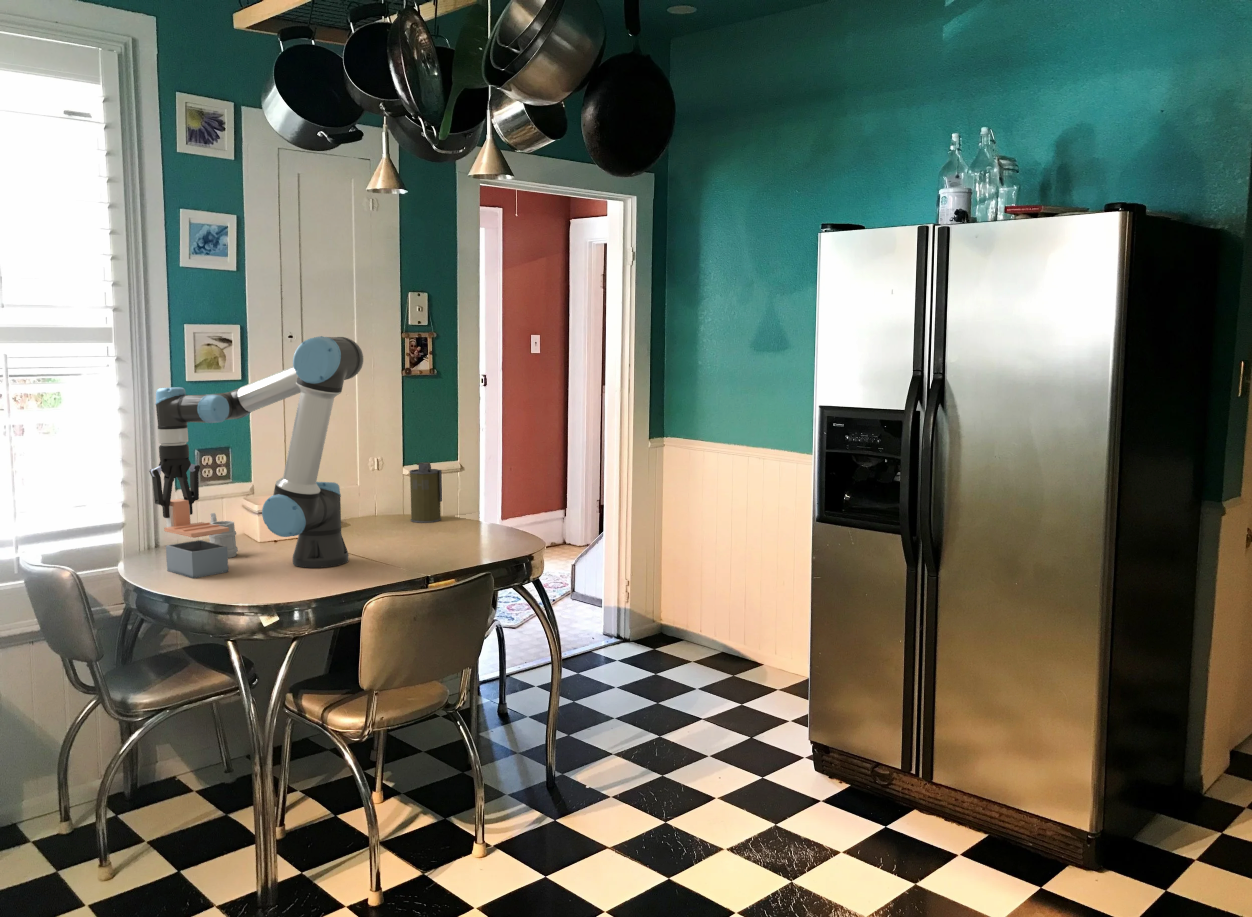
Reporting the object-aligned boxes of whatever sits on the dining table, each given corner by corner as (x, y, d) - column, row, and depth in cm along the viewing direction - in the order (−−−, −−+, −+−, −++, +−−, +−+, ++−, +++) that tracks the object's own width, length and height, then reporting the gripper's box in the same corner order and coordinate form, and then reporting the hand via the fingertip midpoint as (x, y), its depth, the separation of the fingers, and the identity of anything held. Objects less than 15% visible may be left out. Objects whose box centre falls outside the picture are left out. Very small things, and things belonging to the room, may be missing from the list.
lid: (229, 533, 281) (227, 503, 280) (191, 539, 273) (189, 509, 272) (192, 525, 293) (191, 497, 292) (155, 531, 285) (153, 502, 284)
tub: (228, 571, 282) (227, 546, 281) (193, 578, 274) (191, 552, 273) (202, 564, 291) (200, 539, 290) (167, 570, 283) (165, 545, 282)
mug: (217, 560, 297) (215, 518, 295) (198, 554, 305) (196, 513, 303) (242, 556, 302) (240, 515, 301) (224, 550, 310) (222, 510, 309)
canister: (406, 522, 357) (404, 464, 354) (417, 517, 367) (415, 460, 364) (436, 523, 355) (435, 465, 352) (446, 518, 365) (445, 461, 363)
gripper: (196, 440, 294) (201, 522, 296) (136, 445, 281) (141, 531, 283) (210, 442, 289) (214, 525, 292) (149, 447, 276) (154, 534, 279)
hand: (178, 527), depth 287 cm, fingers closed on lid, 4 cm apart
